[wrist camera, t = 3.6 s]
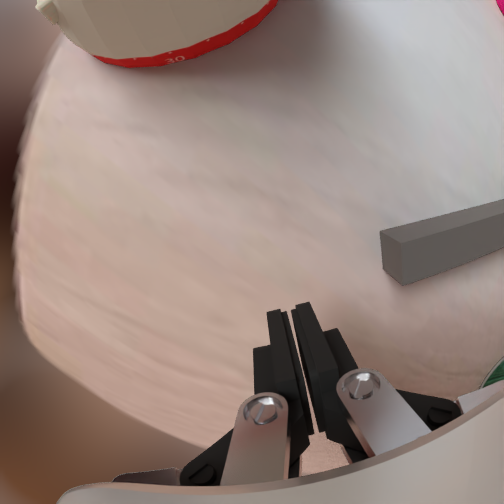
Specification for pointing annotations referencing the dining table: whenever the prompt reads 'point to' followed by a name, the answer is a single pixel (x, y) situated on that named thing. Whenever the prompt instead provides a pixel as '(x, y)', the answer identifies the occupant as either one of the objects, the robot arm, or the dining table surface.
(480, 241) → the yellow tipped gray bar
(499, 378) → the canned tomato
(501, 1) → the pepper mill
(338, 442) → the robot arm
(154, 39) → the kitchen timer
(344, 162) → the dining table surface
